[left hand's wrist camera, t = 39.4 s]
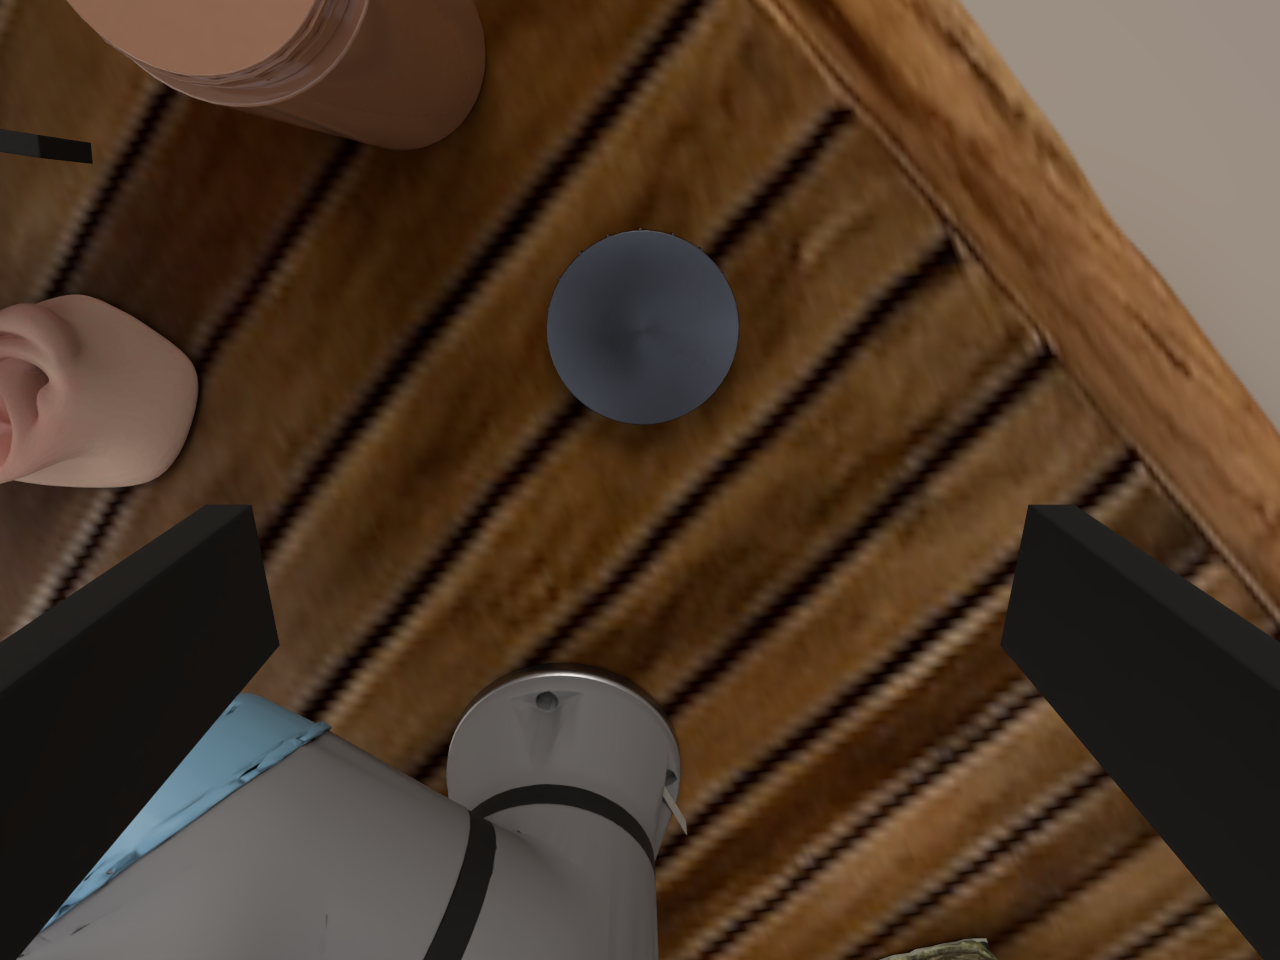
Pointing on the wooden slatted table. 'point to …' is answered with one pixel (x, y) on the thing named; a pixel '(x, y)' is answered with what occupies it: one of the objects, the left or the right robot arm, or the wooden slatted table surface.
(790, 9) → the wooden slatted table surface
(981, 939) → the fossil
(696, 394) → the lid
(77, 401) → the anatomical model
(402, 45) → the jar
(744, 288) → the wooden slatted table surface
